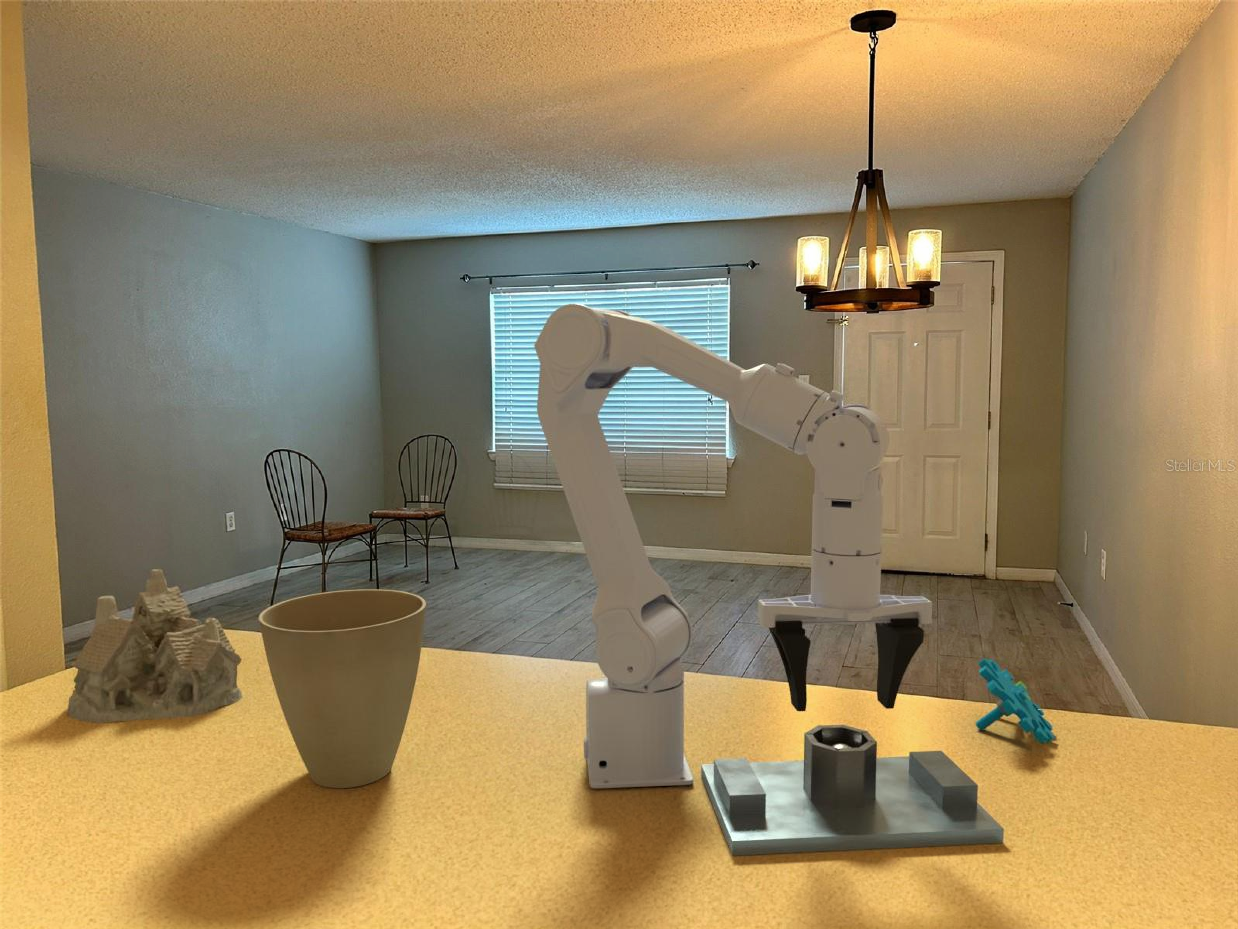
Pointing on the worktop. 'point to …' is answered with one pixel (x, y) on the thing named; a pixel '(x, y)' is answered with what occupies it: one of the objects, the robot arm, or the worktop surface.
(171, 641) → the ceramic cottage
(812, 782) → the collar
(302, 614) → the plant pot
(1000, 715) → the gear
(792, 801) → the shaft mount
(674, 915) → the worktop surface
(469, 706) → the worktop surface
